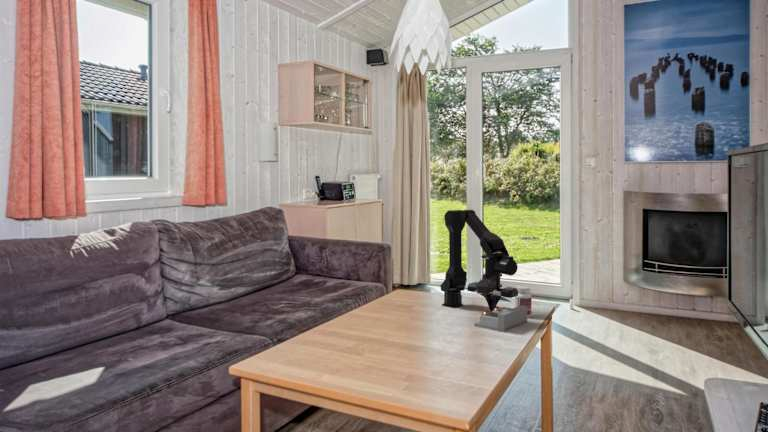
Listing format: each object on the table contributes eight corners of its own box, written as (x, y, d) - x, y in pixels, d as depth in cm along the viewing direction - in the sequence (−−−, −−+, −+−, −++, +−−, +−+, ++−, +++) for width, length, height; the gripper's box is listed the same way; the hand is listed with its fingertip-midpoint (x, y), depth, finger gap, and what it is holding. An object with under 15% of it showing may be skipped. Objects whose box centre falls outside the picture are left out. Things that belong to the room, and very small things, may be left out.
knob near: (480, 321, 203) (480, 311, 202) (487, 319, 206) (488, 309, 206) (500, 325, 197) (500, 315, 197) (507, 323, 201) (507, 312, 201)
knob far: (492, 317, 209) (492, 307, 208) (498, 314, 212) (499, 305, 212) (511, 321, 203) (511, 311, 203) (518, 318, 207) (518, 308, 207)
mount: (474, 325, 202) (474, 309, 202) (498, 316, 215) (498, 301, 215) (503, 332, 194) (504, 315, 194) (527, 322, 207) (527, 306, 207)
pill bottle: (534, 315, 216) (534, 287, 215) (525, 318, 212) (526, 289, 211) (520, 313, 221) (521, 284, 220) (511, 315, 216) (512, 286, 215)
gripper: (459, 271, 210) (459, 312, 211) (504, 277, 198) (503, 320, 199) (475, 267, 219) (475, 306, 220) (519, 273, 206) (518, 314, 208)
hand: (492, 312), depth 211 cm, fingers closed
